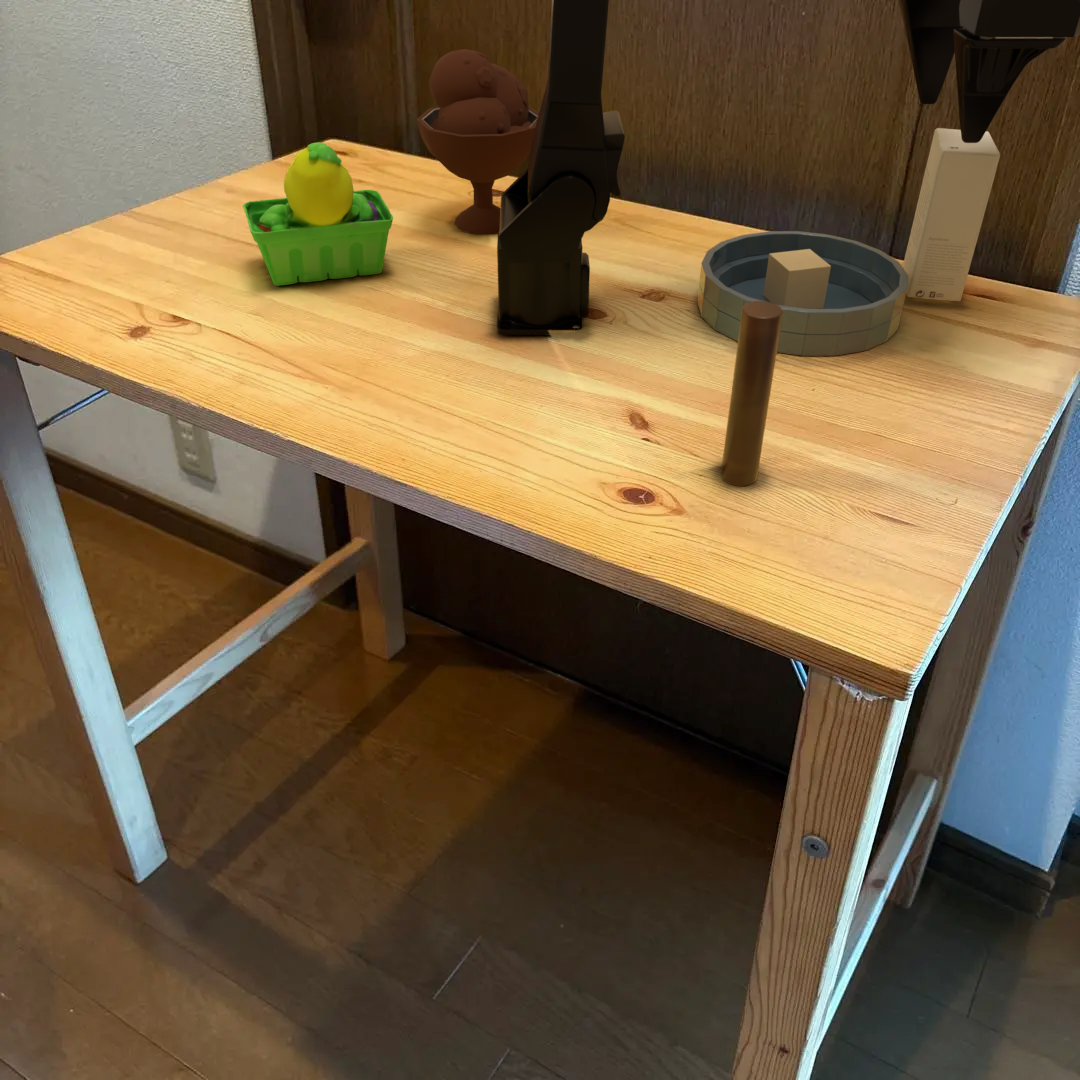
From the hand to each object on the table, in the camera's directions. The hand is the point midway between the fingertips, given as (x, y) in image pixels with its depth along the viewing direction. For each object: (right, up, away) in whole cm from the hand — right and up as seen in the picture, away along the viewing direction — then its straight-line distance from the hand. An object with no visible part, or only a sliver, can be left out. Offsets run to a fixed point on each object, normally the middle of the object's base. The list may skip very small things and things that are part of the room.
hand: (948, 122), depth 72 cm
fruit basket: (-46, -7, +16) cm, 50 cm away
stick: (-16, -25, -9) cm, 31 cm away
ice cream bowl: (-34, 0, +25) cm, 42 cm away
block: (-8, -10, +10) cm, 16 cm away
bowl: (-8, -12, +9) cm, 17 cm away
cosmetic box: (+4, -9, +13) cm, 16 cm away
